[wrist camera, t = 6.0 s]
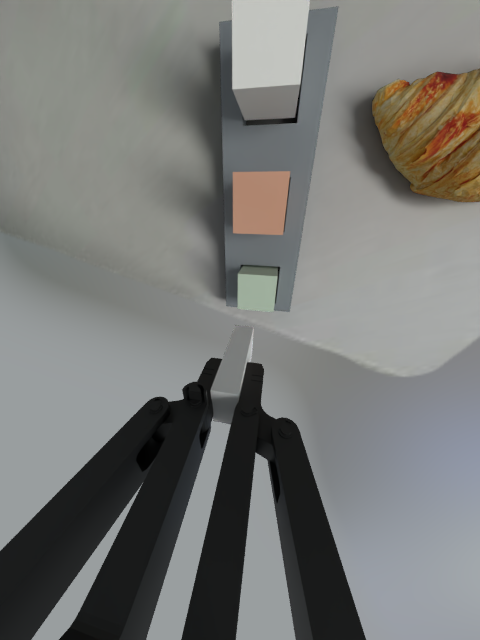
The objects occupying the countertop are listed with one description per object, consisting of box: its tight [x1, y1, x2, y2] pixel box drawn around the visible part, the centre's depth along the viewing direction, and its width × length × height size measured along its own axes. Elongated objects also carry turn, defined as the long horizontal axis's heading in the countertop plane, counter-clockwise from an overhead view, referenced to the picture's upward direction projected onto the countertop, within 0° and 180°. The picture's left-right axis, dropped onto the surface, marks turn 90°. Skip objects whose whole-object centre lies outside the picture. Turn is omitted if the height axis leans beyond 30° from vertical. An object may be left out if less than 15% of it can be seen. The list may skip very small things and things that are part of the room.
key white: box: [232, 0, 310, 120], centre depth 16 cm, size 5×5×6 cm
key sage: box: [238, 265, 278, 312], centre depth 28 cm, size 5×5×6 cm
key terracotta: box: [233, 171, 290, 235], centre depth 21 cm, size 5×5×6 cm
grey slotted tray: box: [219, 7, 338, 312], centre depth 24 cm, size 28×10×2 cm, turn 179°
